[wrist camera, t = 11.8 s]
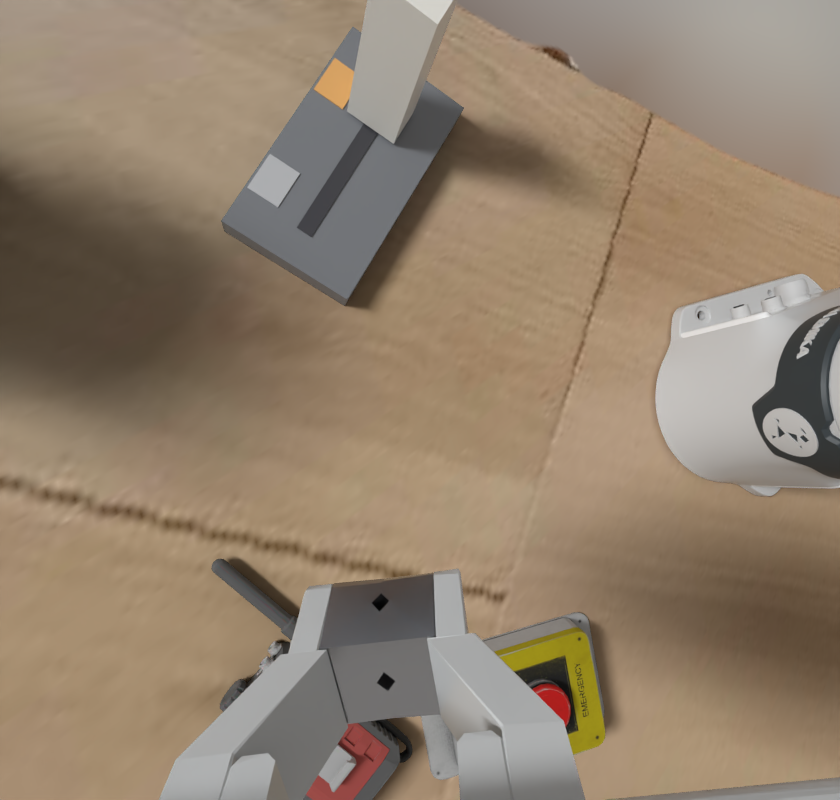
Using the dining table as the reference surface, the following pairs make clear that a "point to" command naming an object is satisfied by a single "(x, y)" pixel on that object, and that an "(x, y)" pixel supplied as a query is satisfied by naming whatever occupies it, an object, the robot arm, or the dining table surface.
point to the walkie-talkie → (362, 742)
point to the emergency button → (540, 685)
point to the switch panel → (336, 181)
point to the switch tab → (395, 60)
